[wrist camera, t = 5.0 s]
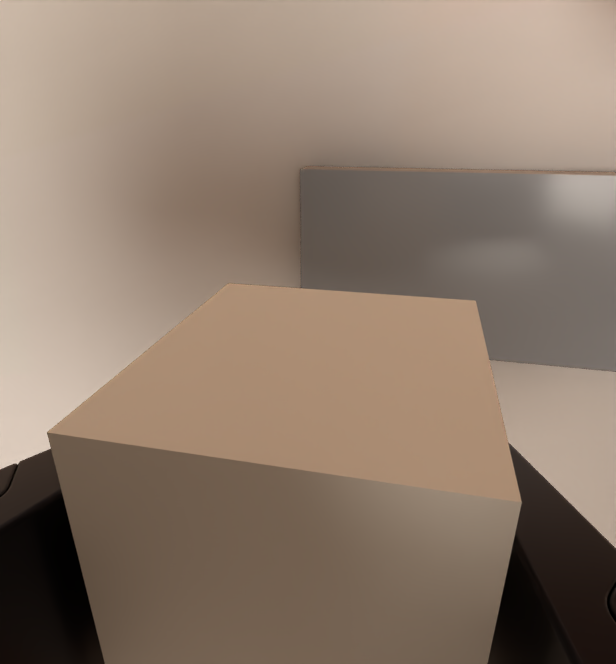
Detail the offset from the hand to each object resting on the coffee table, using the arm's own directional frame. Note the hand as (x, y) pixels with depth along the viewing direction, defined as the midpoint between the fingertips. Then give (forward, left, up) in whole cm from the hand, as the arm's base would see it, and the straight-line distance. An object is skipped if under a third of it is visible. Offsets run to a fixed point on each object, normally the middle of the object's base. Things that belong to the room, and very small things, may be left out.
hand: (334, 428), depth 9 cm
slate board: (0, -6, -12) cm, 14 cm away
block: (0, 0, -1) cm, 1 cm away
